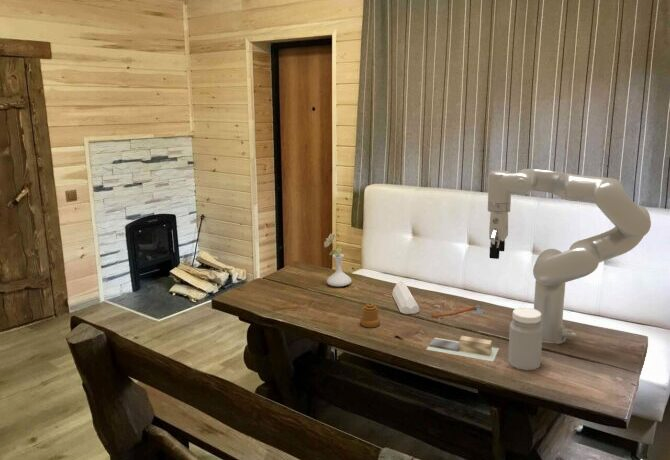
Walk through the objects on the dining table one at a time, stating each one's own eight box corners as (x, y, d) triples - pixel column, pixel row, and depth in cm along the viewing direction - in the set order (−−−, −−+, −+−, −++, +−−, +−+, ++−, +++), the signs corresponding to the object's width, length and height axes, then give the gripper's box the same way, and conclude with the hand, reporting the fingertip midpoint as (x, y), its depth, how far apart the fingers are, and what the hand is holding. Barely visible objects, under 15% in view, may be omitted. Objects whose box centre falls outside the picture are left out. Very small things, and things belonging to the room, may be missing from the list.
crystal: (387, 286, 240) (396, 307, 216) (401, 277, 239) (412, 297, 216) (395, 299, 242) (406, 321, 218) (409, 291, 241) (422, 312, 218)
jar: (545, 364, 176) (549, 311, 172) (532, 376, 169) (536, 321, 165) (515, 355, 183) (518, 303, 178) (502, 366, 175) (504, 313, 171)
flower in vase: (340, 278, 263) (339, 227, 257) (356, 284, 254) (355, 231, 248) (318, 285, 255) (316, 232, 249) (334, 291, 246) (333, 236, 240)
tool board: (499, 351, 186) (499, 348, 186) (493, 364, 177) (493, 361, 177) (434, 340, 195) (434, 337, 195) (426, 352, 187) (426, 349, 187)
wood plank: (427, 330, 206) (415, 327, 209) (427, 325, 205) (416, 322, 208) (406, 343, 194) (393, 339, 197) (406, 337, 193) (394, 334, 196)
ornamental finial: (371, 330, 205) (356, 324, 210) (384, 323, 210) (369, 318, 216) (371, 309, 203) (355, 304, 209) (384, 304, 209) (369, 299, 214)
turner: (492, 350, 184) (492, 339, 183) (489, 357, 180) (489, 345, 179) (433, 340, 193) (433, 329, 192) (428, 346, 189) (429, 335, 188)
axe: (439, 323, 210) (439, 319, 209) (430, 318, 216) (430, 314, 215) (489, 313, 218) (489, 309, 218) (478, 308, 224) (478, 304, 223)
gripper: (505, 212, 183) (503, 262, 187) (514, 202, 198) (512, 249, 202) (482, 211, 186) (480, 260, 190) (492, 201, 201) (491, 247, 205)
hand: (497, 254), depth 196 cm, fingers open, 9 cm apart
